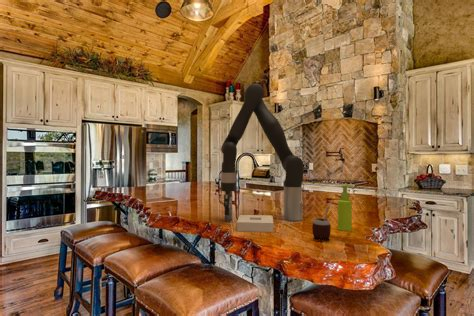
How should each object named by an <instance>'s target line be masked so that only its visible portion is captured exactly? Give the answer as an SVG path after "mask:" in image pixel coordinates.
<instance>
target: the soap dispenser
mask: <svg viewBox="0 0 474 316" xmlns="http://www.w3.org/2000/svg"><path fill="white" fill-rule="evenodd" d="M341 188H342V192H341V193H340V199H338V200H337V230H339V231H341V232H351V231H352V227H353V226H352V225H353V224H352V221H353V219H352V218H353V217H352V211H353V201H352V200H350V193H349V192H348V188H350V189H354V188H355V186H352V185H341Z"/></svg>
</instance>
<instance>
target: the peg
mask: <svg viewBox="0 0 474 316" xmlns="http://www.w3.org/2000/svg"><path fill="white" fill-rule="evenodd" d="M231 221H232V222H233V204H230V207H229V215H225V214H224V222H225V223H232V222H231Z"/></svg>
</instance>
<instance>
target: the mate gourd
mask: <svg viewBox="0 0 474 316" xmlns="http://www.w3.org/2000/svg"><path fill="white" fill-rule="evenodd" d="M332 203H333V201H330V202H329V203H328V204H327V206H326V211H325V215H324V218H315V219H314V220H313V221H312V225H311V228H312V231H311V232H312V235H313V240H319V242H320V243H321V242H323V241H327V242H329V241H330V236H331V229H332V228H331V227H332V225H331V223H330V221H329V219H327V216H328V212H329V209H330V206H331V205H332Z"/></svg>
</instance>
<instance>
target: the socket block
mask: <svg viewBox="0 0 474 316" xmlns="http://www.w3.org/2000/svg"><path fill="white" fill-rule="evenodd" d="M273 218H274V217H273V215H263V214H262V215H260V214H255V215H254V214H239V216H238V218H237V221H236V232H250V233H251V232H254V233H256V232H257V233H258V232H260V233H274V219H273Z"/></svg>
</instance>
